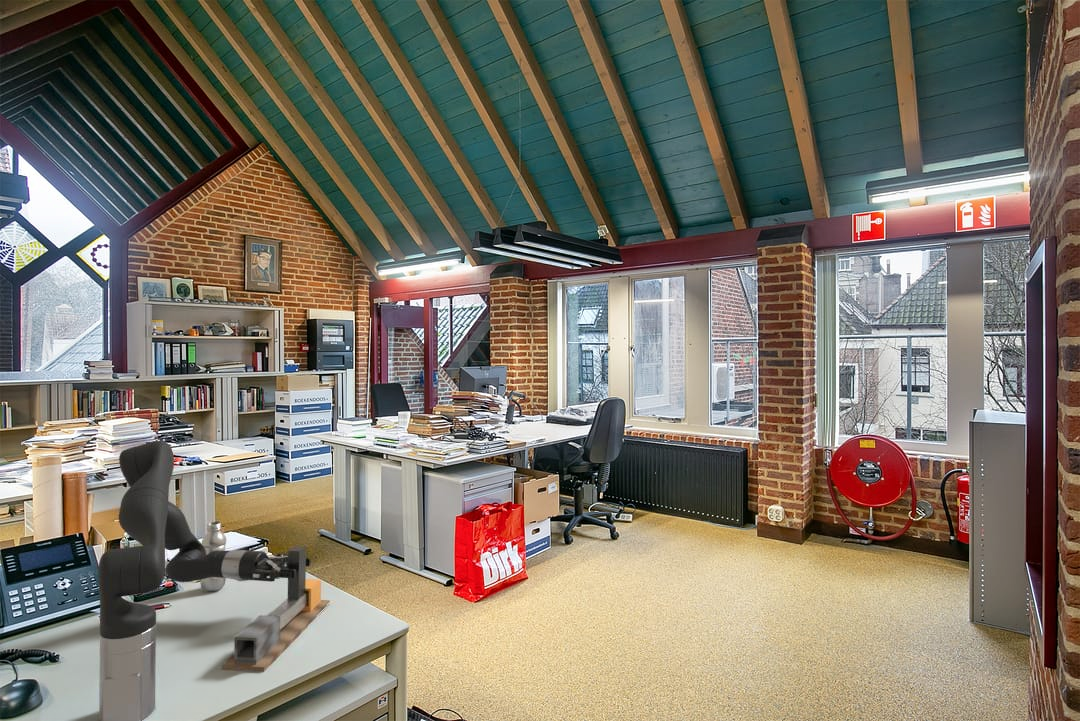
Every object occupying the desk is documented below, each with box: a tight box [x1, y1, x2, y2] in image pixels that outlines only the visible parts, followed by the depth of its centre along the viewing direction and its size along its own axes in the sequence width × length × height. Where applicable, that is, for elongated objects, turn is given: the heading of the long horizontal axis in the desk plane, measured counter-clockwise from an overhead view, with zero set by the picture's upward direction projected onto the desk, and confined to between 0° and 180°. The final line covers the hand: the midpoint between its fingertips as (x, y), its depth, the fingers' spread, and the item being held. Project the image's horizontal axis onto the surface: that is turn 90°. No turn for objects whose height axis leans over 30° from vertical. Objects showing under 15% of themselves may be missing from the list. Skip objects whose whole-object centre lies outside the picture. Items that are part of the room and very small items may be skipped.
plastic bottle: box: [199, 521, 227, 592], centre depth 179 cm, size 6×7×20 cm
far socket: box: [301, 578, 322, 612], centre depth 167 cm, size 6×6×6 cm
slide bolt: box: [267, 545, 309, 630], centre depth 156 cm, size 22×3×16 cm, turn 176°
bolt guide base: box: [220, 599, 331, 673], centre depth 153 cm, size 36×10×7 cm, turn 176°
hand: (302, 567), depth 161 cm, fingers open, 8 cm apart
